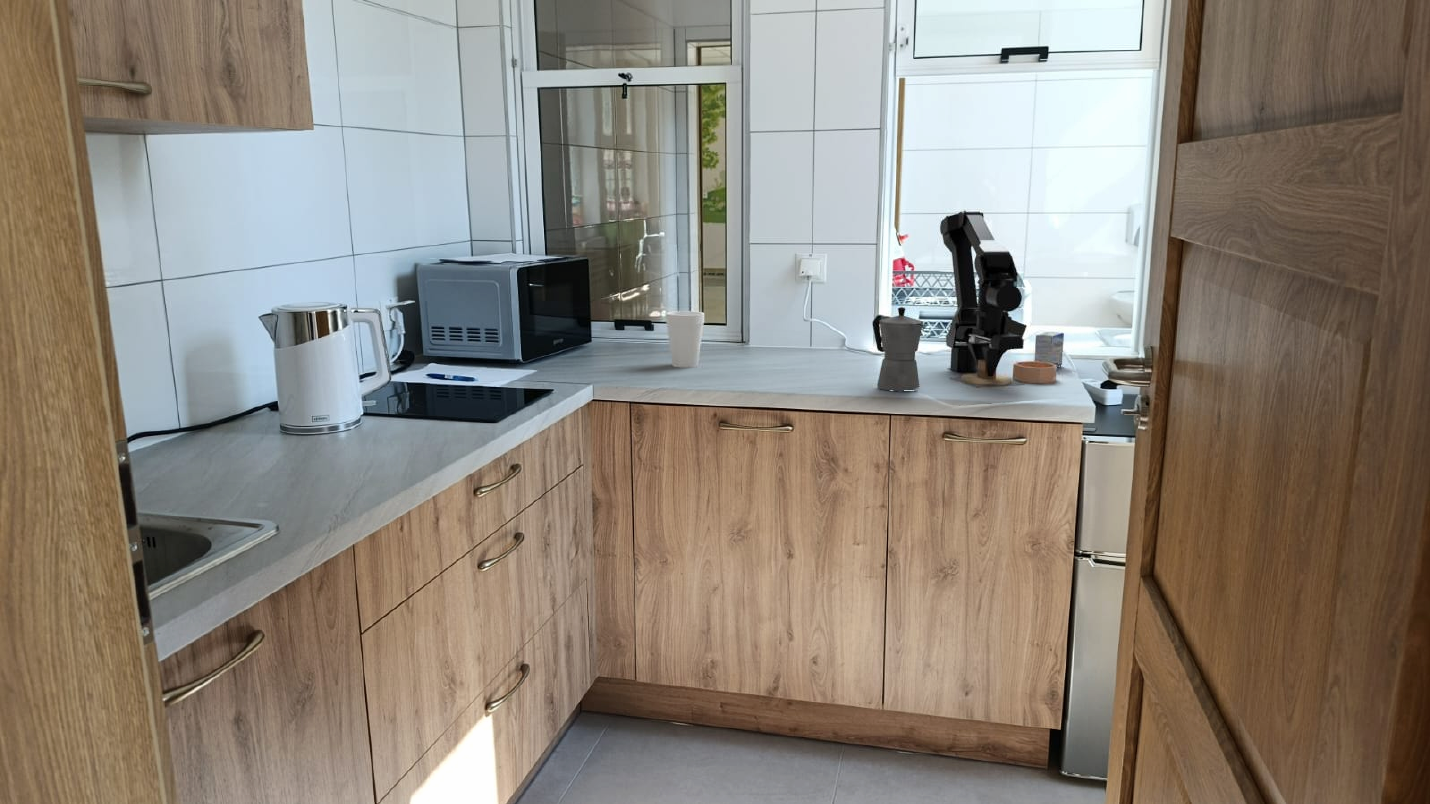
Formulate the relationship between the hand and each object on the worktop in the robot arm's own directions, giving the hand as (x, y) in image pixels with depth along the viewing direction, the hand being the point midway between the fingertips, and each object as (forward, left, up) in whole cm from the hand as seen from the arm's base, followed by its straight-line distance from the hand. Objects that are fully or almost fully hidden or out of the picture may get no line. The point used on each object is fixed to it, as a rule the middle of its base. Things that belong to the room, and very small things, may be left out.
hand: (986, 375), depth 230 cm
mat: (0, 0, -2) cm, 2 cm away
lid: (0, 0, -1) cm, 1 cm away
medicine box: (+26, +14, -2) cm, 30 cm away
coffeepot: (-22, +2, -2) cm, 22 cm away
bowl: (+12, -1, -2) cm, 12 cm away
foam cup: (-59, +42, -2) cm, 72 cm away
